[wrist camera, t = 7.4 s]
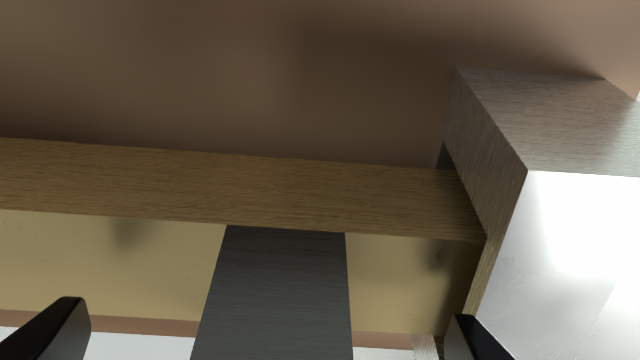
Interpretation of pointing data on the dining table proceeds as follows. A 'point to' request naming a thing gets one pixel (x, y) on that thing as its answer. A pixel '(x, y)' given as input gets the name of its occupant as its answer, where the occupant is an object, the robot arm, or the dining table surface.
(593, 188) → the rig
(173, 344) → the dining table surface
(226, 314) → the brass t-shaped handle
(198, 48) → the board
